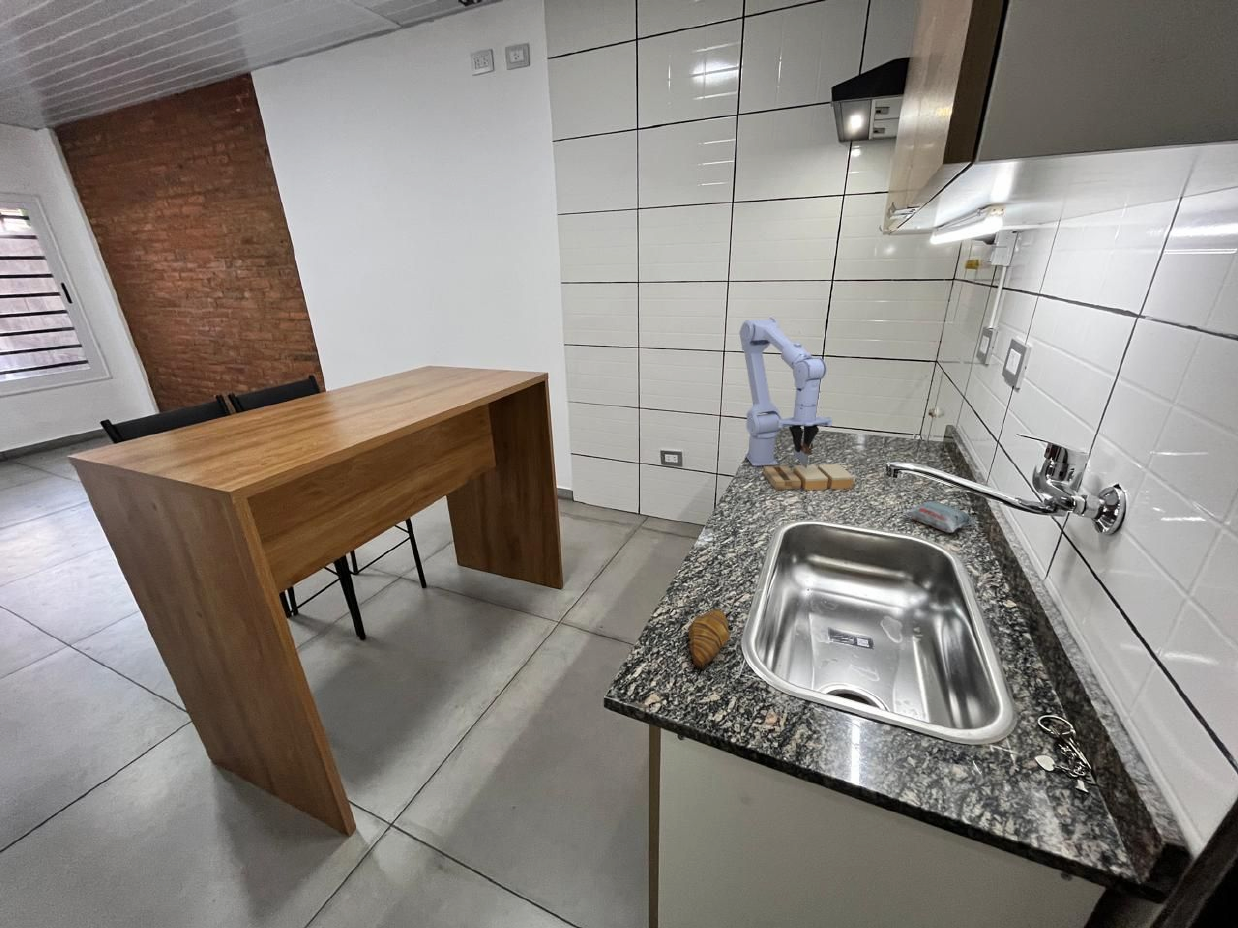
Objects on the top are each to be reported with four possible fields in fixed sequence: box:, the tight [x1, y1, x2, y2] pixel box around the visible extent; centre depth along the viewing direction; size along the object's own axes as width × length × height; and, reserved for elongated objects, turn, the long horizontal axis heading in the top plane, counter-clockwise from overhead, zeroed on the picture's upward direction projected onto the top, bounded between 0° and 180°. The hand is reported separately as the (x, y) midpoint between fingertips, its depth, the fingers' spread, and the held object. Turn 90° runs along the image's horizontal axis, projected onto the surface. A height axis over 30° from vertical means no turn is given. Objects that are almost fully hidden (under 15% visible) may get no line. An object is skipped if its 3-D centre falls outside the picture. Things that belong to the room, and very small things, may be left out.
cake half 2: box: [817, 463, 855, 490], centre depth 137 cm, size 10×6×4 cm, turn 1°
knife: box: [792, 439, 812, 468], centre depth 136 cm, size 10×2×6 cm, turn 0°
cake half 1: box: [792, 464, 828, 491], centre depth 138 cm, size 10×6×4 cm, turn 1°
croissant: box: [688, 609, 731, 670], centre depth 79 cm, size 14×7×5 cm, turn 155°
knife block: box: [762, 464, 802, 491], centre depth 140 cm, size 12×7×2 cm, turn 1°
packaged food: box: [902, 500, 976, 534], centre depth 112 cm, size 9×12×5 cm
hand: (801, 450), depth 136 cm, fingers closed on knife, 1 cm apart
